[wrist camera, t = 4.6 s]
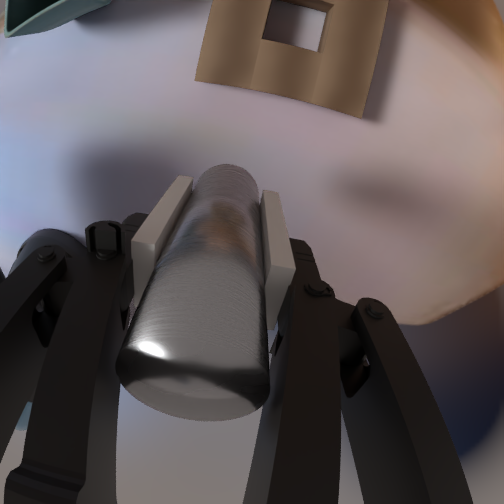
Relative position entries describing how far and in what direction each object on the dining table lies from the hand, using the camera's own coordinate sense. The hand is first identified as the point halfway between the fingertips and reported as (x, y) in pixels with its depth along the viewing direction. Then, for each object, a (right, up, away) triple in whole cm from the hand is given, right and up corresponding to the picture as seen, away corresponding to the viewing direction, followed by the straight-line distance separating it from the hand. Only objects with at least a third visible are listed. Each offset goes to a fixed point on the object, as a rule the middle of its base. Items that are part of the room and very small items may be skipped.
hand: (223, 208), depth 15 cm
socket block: (+5, +18, +5) cm, 19 cm away
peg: (0, +1, +2) cm, 2 cm away
